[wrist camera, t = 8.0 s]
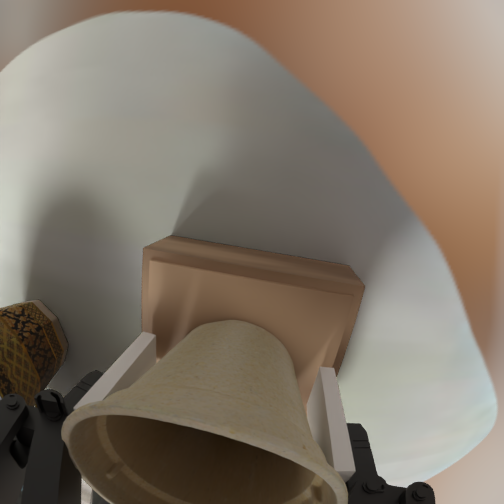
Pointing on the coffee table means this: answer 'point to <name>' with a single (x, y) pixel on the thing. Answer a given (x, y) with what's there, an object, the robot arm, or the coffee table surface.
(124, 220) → the coffee table surface
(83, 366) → the coffee table surface
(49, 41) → the coffee table surface
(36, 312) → the ceramic cup
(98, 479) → the flower pot
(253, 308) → the stand
